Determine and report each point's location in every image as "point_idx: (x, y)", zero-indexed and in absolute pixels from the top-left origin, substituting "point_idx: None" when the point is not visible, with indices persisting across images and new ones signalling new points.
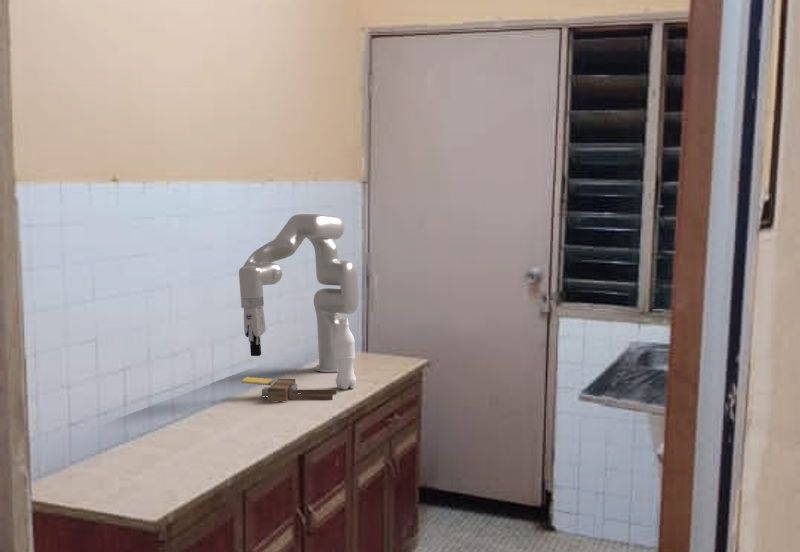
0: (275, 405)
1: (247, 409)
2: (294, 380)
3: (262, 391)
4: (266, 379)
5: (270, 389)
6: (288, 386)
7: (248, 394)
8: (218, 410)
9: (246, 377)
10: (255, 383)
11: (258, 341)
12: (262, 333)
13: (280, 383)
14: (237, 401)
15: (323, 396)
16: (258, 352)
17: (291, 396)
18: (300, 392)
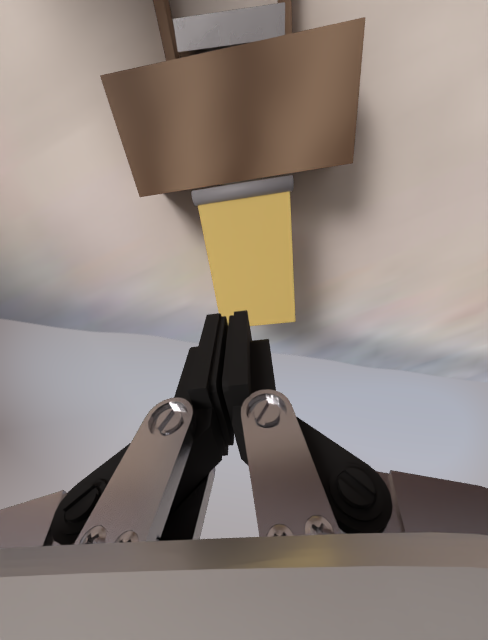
0: (395, 97)
1: (437, 212)
2: (123, 73)
3: None
4: (218, 233)
5: (352, 146)
6: (281, 38)
7: None
8: (424, 306)
9: None
10: (292, 259)
11: (195, 429)
12: (165, 594)
13: (233, 133)
14: (315, 292)
15: None
16: (249, 333)
17: (291, 33)
18: (172, 29)
